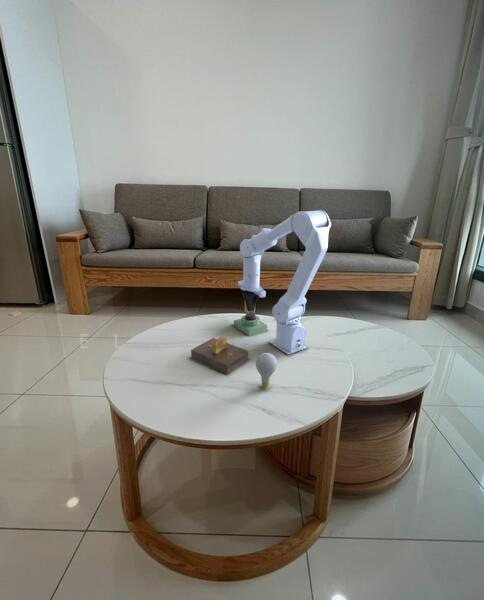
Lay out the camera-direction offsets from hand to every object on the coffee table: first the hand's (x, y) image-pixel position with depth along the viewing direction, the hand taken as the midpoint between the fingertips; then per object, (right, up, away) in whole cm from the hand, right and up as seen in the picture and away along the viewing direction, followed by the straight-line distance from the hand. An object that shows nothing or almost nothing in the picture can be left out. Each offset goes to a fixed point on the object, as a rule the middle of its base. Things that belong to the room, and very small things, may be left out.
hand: (250, 310), depth 115 cm
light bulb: (+4, -20, -31) cm, 37 cm away
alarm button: (0, -3, +1) cm, 3 cm away
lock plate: (-9, -14, -18) cm, 25 cm away
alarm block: (0, -7, +2) cm, 7 cm away
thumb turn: (-9, -11, -19) cm, 24 cm away
